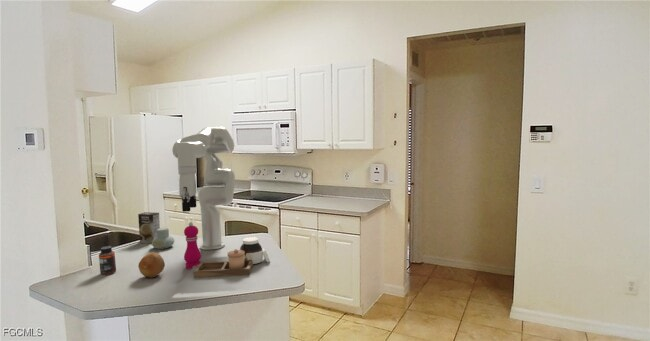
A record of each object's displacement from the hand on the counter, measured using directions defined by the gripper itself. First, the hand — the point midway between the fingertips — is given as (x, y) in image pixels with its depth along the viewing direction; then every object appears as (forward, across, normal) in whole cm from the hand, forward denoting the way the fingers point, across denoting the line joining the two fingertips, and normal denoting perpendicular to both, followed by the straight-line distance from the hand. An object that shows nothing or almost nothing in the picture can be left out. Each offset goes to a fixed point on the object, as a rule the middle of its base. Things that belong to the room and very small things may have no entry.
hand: (189, 209), depth 164 cm
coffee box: (+26, -47, -36) cm, 65 cm away
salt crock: (+25, +11, +21) cm, 35 cm away
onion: (+26, +9, -14) cm, 31 cm away
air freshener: (+26, -34, -24) cm, 49 cm away
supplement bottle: (+26, +2, -35) cm, 44 cm away
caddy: (+26, +11, +16) cm, 33 cm away
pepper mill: (+26, -1, 0) cm, 26 cm away
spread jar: (+26, 0, +28) cm, 38 cm away
